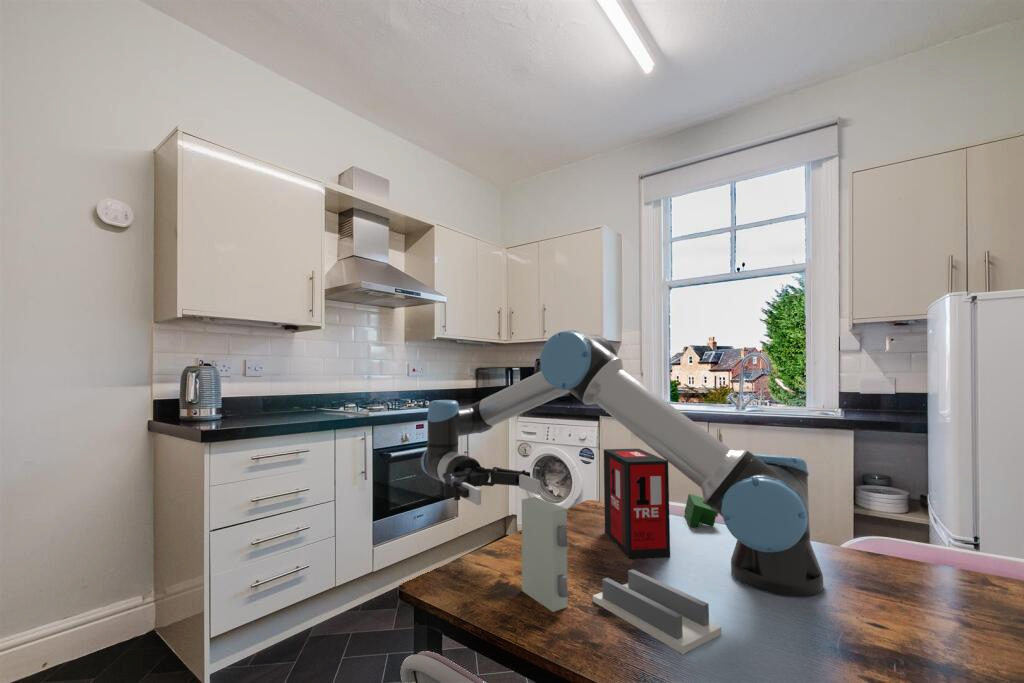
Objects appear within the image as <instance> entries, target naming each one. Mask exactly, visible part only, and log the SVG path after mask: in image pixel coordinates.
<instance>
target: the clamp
mask: <svg viewBox="0 0 1024 683" xmlns="http://www.w3.org/2000/svg"><path fill="white" fill-rule="evenodd" d="M684 516H685V520H686V522H687V524H688V526H690V527H694V528H697V527H698V528H699V526H700V524H703V525H706V526H709V527H715V526H714V525H715V523H716V522H715V521H716V518H717V517H718V516H719V513H717V512H716V511H715V510H714V509H712V508H711V507H710V506H709V505H708V504H706V503H705V502H704V500H703V496H698V495H694V494H691V493H688V496H687V500H686V504H685V509H684Z"/></svg>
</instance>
